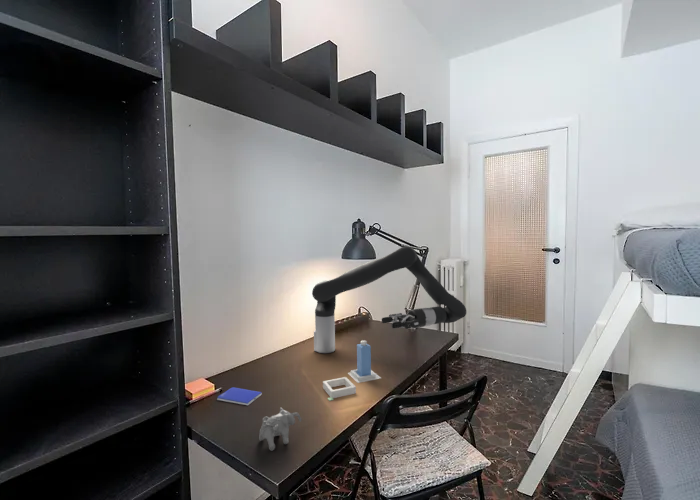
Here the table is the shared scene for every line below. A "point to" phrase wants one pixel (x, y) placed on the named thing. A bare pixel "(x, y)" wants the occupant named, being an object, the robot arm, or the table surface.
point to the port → (340, 392)
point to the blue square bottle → (363, 359)
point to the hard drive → (239, 396)
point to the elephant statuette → (277, 427)
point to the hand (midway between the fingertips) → (386, 323)
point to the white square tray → (363, 378)
